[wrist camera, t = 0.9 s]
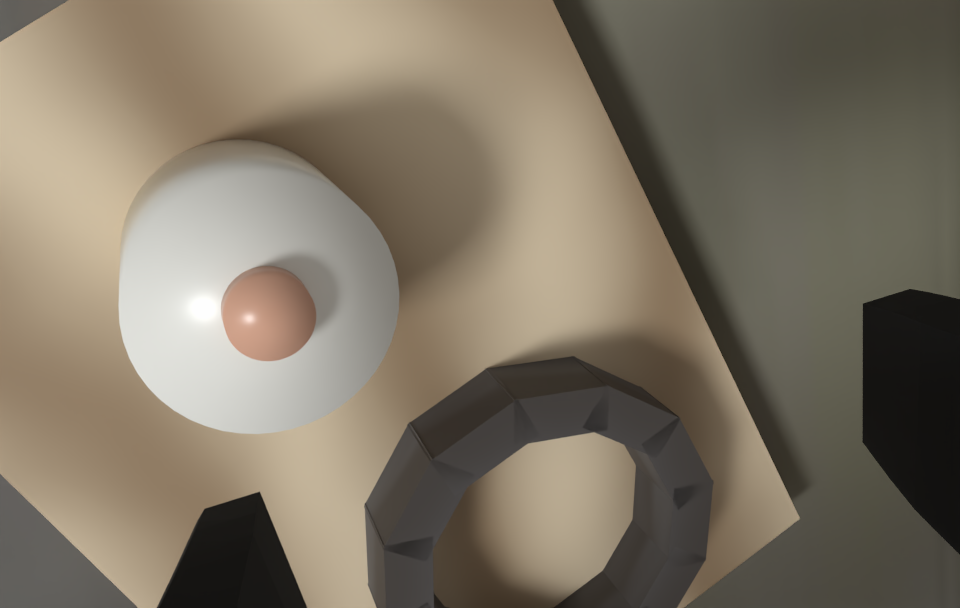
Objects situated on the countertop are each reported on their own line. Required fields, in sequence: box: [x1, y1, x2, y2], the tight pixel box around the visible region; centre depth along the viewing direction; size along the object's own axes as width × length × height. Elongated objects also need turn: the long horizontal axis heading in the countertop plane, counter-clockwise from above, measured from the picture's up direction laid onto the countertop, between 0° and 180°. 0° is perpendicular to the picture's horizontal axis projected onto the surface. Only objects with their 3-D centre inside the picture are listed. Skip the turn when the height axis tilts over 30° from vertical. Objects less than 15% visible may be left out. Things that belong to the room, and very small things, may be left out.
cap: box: [118, 139, 399, 434], centre depth 18 cm, size 5×5×5 cm
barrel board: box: [0, 0, 800, 608], centre depth 22 cm, size 16×23×3 cm
